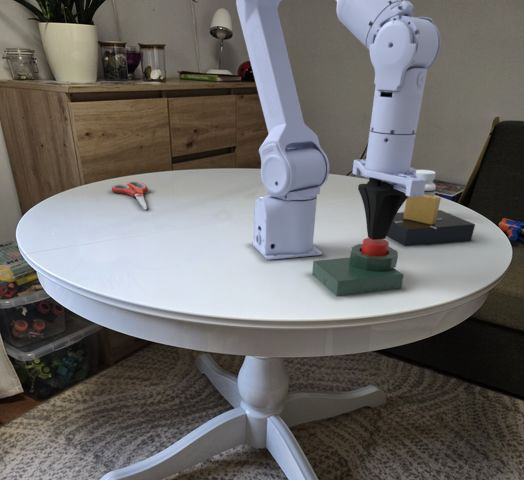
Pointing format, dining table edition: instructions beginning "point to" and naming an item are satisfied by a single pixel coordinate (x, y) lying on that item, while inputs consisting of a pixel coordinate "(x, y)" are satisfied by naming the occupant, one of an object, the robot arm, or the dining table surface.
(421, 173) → the pill bottle
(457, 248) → the dining table surface
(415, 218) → the tan wooden brick
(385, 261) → the button box
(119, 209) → the dining table surface
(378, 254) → the button
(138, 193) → the scissors
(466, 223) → the dark gray flat block
